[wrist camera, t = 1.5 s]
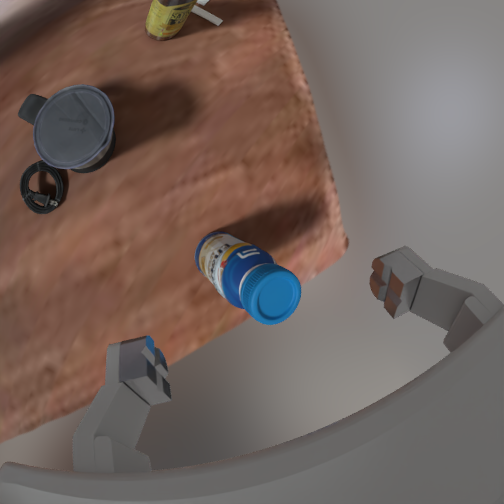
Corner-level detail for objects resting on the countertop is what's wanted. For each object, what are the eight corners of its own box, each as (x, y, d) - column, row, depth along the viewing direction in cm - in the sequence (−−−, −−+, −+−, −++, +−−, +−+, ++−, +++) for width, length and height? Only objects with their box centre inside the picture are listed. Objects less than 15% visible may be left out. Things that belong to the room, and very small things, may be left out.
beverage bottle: (232, 280, 50) (295, 332, 33) (188, 273, 46) (234, 332, 29) (244, 235, 49) (317, 268, 32) (199, 225, 45) (256, 256, 28)
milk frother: (123, 118, 35) (125, 88, 22) (102, 219, 37) (93, 238, 25) (42, 110, 28) (12, 80, 15) (23, 210, 30) (-18, 225, 18)
